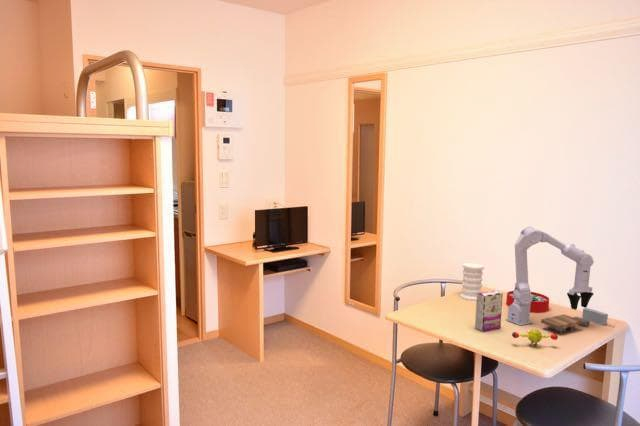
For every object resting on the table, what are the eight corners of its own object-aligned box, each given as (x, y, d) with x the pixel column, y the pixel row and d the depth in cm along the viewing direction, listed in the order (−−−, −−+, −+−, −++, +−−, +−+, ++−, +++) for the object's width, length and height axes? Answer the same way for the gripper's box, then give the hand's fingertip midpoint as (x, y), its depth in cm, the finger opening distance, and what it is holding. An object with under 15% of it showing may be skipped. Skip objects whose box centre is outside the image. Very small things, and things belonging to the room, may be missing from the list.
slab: (559, 329, 204) (559, 325, 204) (541, 322, 211) (541, 319, 211) (582, 323, 211) (582, 320, 211) (563, 317, 219) (563, 314, 219)
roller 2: (570, 331, 210) (571, 324, 210) (558, 326, 216) (558, 320, 215) (574, 330, 212) (575, 323, 212) (562, 325, 217) (563, 319, 217)
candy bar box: (491, 324, 215) (494, 289, 213) (500, 328, 211) (503, 292, 209) (473, 328, 210) (476, 292, 208) (482, 332, 206) (485, 295, 204)
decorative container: (459, 293, 263) (461, 262, 261) (481, 295, 260) (483, 263, 258) (460, 299, 252) (462, 266, 250) (482, 302, 249) (485, 268, 247)
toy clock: (520, 288, 257) (557, 298, 241) (519, 299, 258) (556, 309, 242) (499, 293, 246) (535, 304, 229) (498, 304, 246) (534, 316, 230)
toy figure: (553, 344, 195) (554, 328, 194) (559, 349, 189) (560, 333, 188) (508, 342, 195) (510, 326, 194) (513, 347, 190) (515, 331, 189)
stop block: (602, 325, 219) (604, 315, 218) (582, 318, 228) (583, 308, 227) (606, 324, 220) (607, 314, 220) (585, 317, 229) (586, 307, 228)
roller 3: (585, 327, 216) (585, 321, 216) (572, 323, 221) (573, 317, 221) (589, 326, 217) (589, 320, 217) (576, 322, 223) (577, 316, 222)
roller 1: (560, 333, 207) (561, 326, 207) (548, 328, 212) (549, 322, 212) (565, 332, 208) (565, 325, 208) (552, 327, 214) (553, 321, 213)
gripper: (580, 282, 208) (577, 312, 210) (600, 279, 215) (596, 308, 217) (565, 279, 214) (562, 308, 216) (584, 276, 221) (581, 304, 223)
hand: (578, 308), depth 217 cm, fingers open, 7 cm apart
